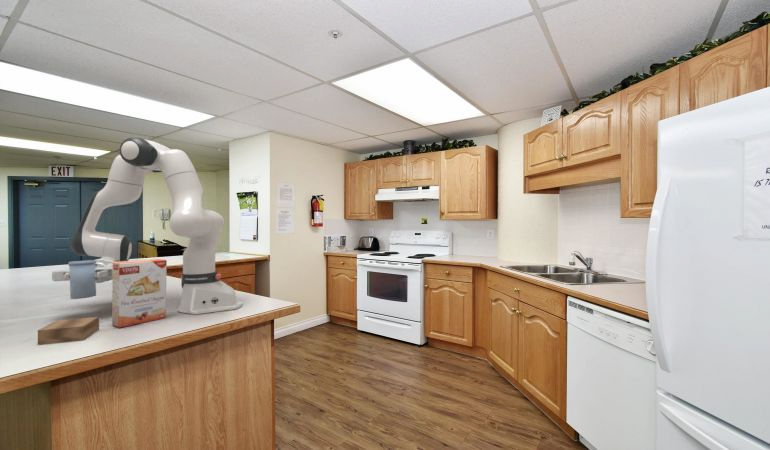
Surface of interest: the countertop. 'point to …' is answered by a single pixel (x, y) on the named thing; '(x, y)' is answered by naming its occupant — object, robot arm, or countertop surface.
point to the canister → (82, 279)
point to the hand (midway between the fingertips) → (81, 276)
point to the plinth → (68, 330)
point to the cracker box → (138, 291)
